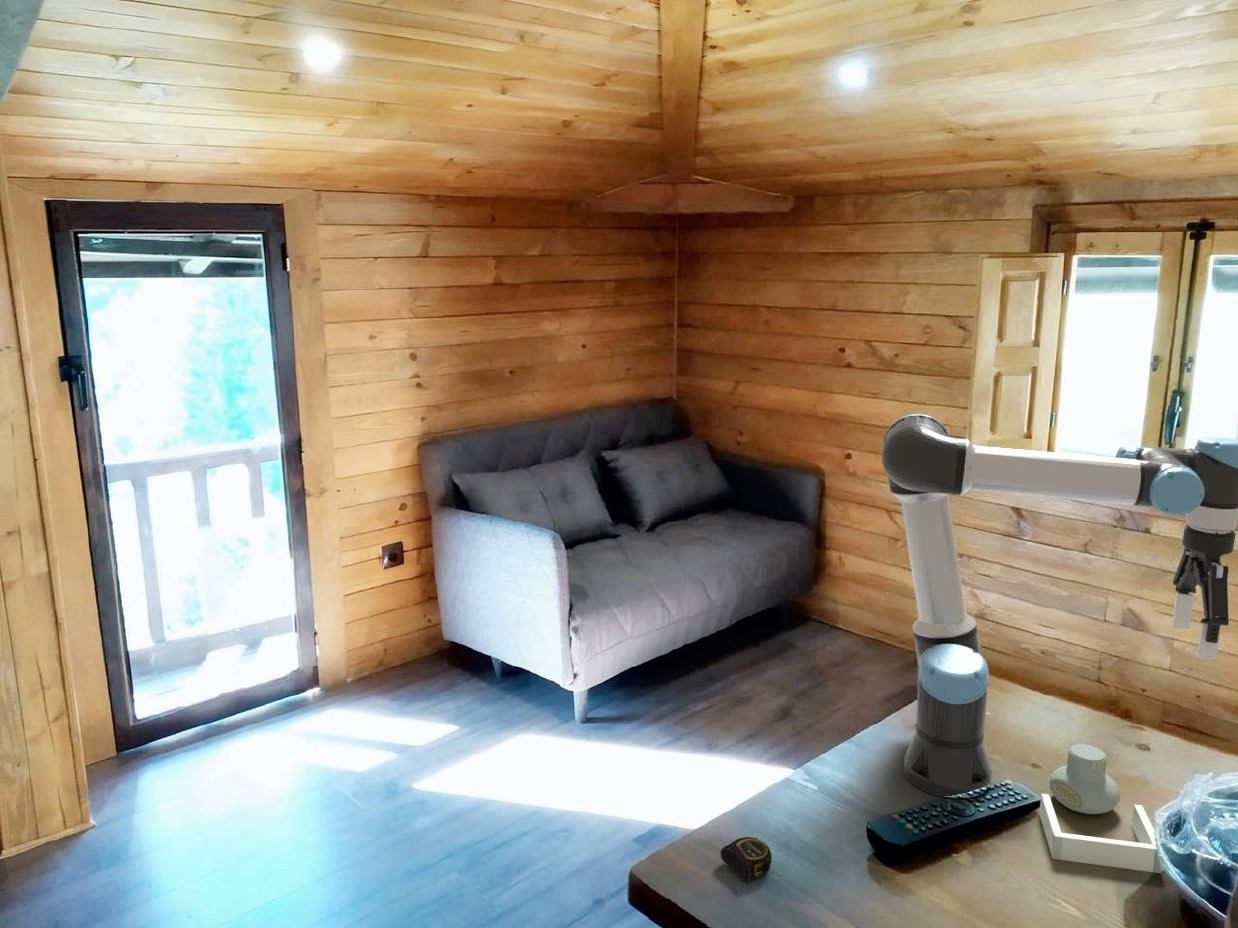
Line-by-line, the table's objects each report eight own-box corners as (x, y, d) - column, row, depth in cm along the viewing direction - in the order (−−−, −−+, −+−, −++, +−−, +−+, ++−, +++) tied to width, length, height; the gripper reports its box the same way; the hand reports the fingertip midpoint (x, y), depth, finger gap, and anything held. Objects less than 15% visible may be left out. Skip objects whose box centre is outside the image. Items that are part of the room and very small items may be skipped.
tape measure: (718, 863, 148) (718, 842, 147) (754, 850, 151) (754, 830, 150) (743, 889, 142) (743, 867, 141) (780, 874, 145) (780, 853, 144)
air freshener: (1127, 815, 158) (1133, 761, 156) (1091, 827, 155) (1097, 773, 153) (1074, 782, 168) (1079, 732, 166) (1039, 793, 165) (1044, 742, 163)
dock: (1052, 858, 147) (1054, 836, 147) (1039, 814, 159) (1041, 793, 158) (1161, 873, 144) (1164, 850, 143) (1139, 826, 155) (1142, 805, 154)
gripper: (1264, 551, 149) (1243, 674, 153) (1209, 509, 172) (1192, 617, 177) (1211, 547, 150) (1192, 669, 155) (1163, 506, 174) (1148, 614, 179)
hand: (1192, 642), depth 166 cm, fingers open, 13 cm apart
